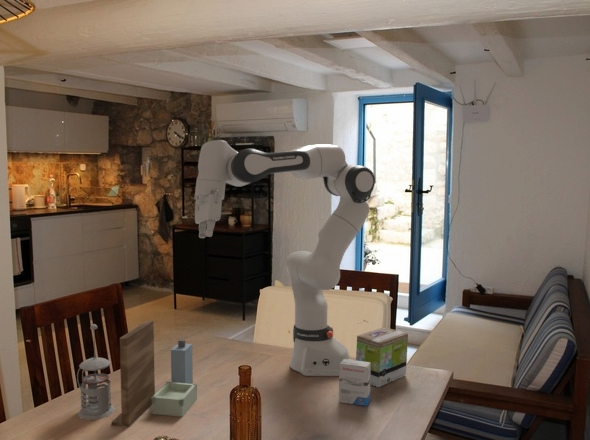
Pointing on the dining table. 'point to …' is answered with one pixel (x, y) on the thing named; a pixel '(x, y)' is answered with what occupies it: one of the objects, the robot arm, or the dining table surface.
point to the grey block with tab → (182, 363)
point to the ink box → (354, 382)
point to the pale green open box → (174, 399)
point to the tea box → (383, 354)
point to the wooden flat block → (136, 373)
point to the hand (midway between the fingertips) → (205, 237)
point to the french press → (95, 389)
